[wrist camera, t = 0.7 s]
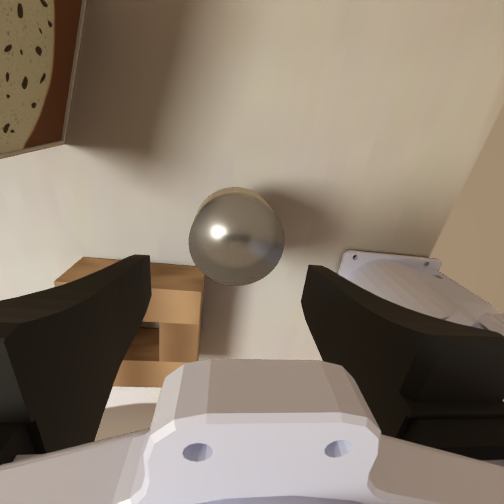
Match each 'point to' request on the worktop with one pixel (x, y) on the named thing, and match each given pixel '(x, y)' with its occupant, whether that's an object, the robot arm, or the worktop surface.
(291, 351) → the worktop surface
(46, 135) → the food container
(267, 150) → the worktop surface
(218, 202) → the grey rounded piece
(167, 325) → the block
